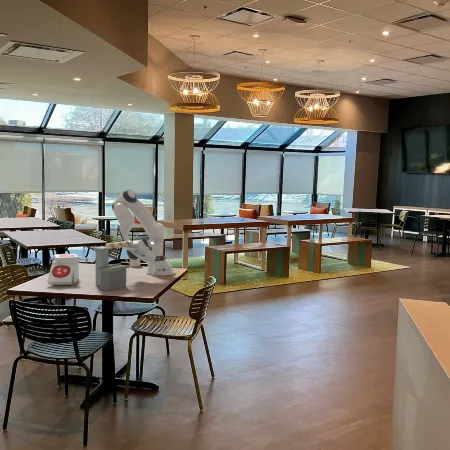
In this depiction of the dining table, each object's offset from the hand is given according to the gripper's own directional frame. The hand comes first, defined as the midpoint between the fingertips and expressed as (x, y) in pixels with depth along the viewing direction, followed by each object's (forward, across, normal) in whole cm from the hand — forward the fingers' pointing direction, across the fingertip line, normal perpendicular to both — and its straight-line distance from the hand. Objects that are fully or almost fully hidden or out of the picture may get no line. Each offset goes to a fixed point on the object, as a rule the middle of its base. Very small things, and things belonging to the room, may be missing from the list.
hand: (126, 242), depth 342 cm
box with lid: (-4, +1, +32) cm, 32 cm away
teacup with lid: (-63, -48, -2) cm, 80 cm away
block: (+5, 0, +5) cm, 7 cm away
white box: (+4, -38, +37) cm, 53 cm away
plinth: (-6, -13, +31) cm, 34 cm away
